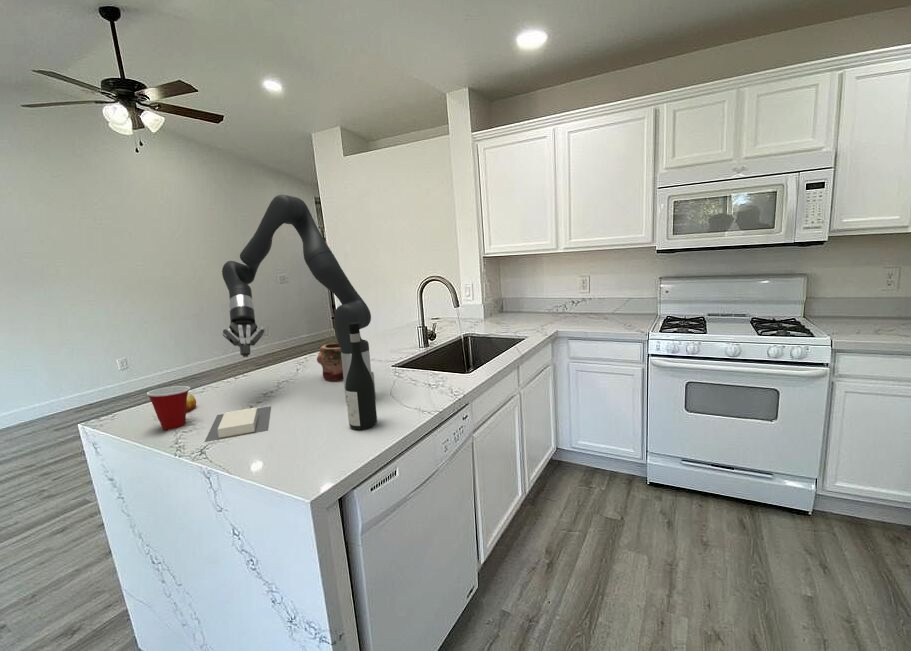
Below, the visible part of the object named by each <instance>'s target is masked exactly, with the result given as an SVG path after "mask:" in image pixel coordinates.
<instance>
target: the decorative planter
mask: <svg viewBox="0 0 911 651" xmlns="http://www.w3.org/2000/svg"><path fill="white" fill-rule="evenodd" d="M317 354H318V355H317V358H316V361H317V363H318V364H319V365H321V367H322V376H323V379H324V381H327V382H334V383H335V382H340V381H344V378H343V368H342V357H341V349H340V346H339V344H338V342H337V343H336V342H335V343H328V344H324V345H322V346H320V348H319V351H318V353H317Z"/></svg>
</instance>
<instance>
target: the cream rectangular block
mask: <svg viewBox="0 0 911 651" xmlns="http://www.w3.org/2000/svg"><path fill="white" fill-rule="evenodd" d="M257 408H258V407H251V408H244V409H237V410H231V411H227V412H224V413H223V414H224V415H223V418H222V420H221V422H220V425H219V427H218V436H219V438H225V437H230V438H232V437H231V436H236V435H241V436H243V435H242V434H247V433H253V432H254V431H255V427H256V422H257V417H258V411H257ZM253 434H254V433H253ZM247 435H248V434H247ZM236 437H237V436H236ZM225 439H226V438H225Z"/></svg>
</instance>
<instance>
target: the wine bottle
mask: <svg viewBox="0 0 911 651" xmlns="http://www.w3.org/2000/svg"><path fill="white" fill-rule="evenodd" d="M348 327H349V331H350V341H351V350H352V359H351V364H350V368H349V371H348V374H347V378H346V386H345V388H344V391H345V390H346V397H345V401H346V400H347V403H346V407H347V418H348V425H349V427H350V428H352V429H354V430H360V431H361V430H366V429H367V430H368V429H371V428H372V427H374V426H375V425H377V424H376V423H377V422H378V417H377V416H378V414H377V404H376V399H375V394H376V389H375V390H374V383H375V382H374V383H373V380H372V377H371V375H370V372H369V370H368V369H367V367H366V365H365V363H364V360H363V357H362V353H361V343H360V336H361V332H360V331H359V330H361V329H360V325H359V323H358V322H354V323H349V324H348Z"/></svg>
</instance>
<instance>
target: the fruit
mask: <svg viewBox="0 0 911 651" xmlns="http://www.w3.org/2000/svg"><path fill="white" fill-rule="evenodd" d="M196 406H197V400H196V398H195V396H194V395H193V394H192V393H189V392H188V395H187V406H186V414H187V413H188V412H190V411H193V410H194V408H196Z"/></svg>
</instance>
